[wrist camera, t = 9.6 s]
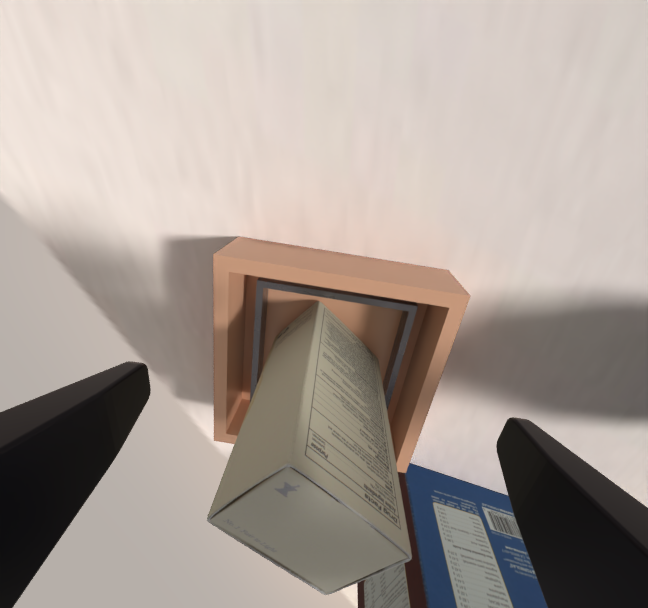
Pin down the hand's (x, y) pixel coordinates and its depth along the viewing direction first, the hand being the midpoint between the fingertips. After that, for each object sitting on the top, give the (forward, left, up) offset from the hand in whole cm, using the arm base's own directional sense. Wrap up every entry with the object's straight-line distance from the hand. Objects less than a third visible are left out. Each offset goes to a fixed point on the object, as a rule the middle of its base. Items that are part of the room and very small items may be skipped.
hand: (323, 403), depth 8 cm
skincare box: (0, +6, -13) cm, 14 cm away
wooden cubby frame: (0, +6, -13) cm, 14 cm away
